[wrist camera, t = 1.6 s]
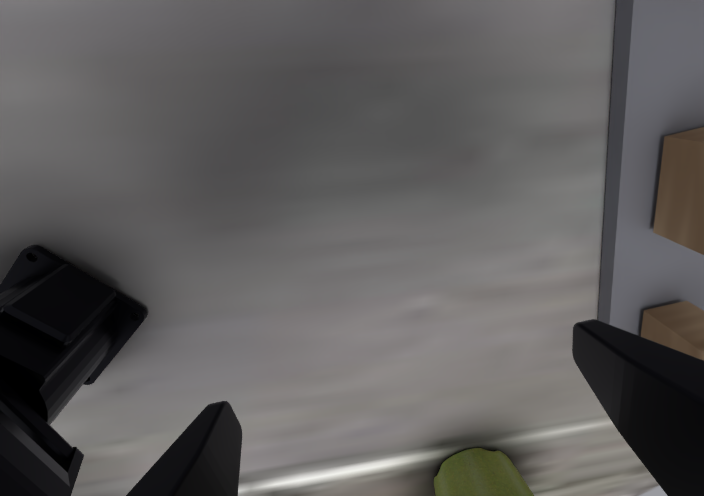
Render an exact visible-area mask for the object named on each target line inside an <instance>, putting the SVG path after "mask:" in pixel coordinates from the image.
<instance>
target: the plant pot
mask: <svg viewBox="0 0 704 496" xmlns="http://www.w3.org/2000/svg"><path fill="white" fill-rule="evenodd" d="M434 488H435V495H436V496H534V495H533V493H532V492H531V490H530V489H529V487H528V486H527V484H526V483H525V481H524V480H523V478H522V477H521V475H520V474H519V472H518V471H517V469H516V468H515V466H514V465H513V463H512V462H511V460H510V459H509V458H508V457H507V456H506V455H505V454H504V453H502V452H500V451H495V452H493V451H487V450H484V449H482V448H472V449H468V450H464V451H462V452H459V453H457V454H455V455H453V456H451V457H450V458H448V459H447V460H446V461H444V462H443V463H442V465H441V467H440V470H439V472H438V474H437V476H436V477H434Z"/></svg>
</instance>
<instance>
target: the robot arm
mask: <svg viewBox="0 0 704 496" xmlns="http://www.w3.org/2000/svg"><path fill="white" fill-rule="evenodd" d="M32 253H33V254H35V255H36V256H37V258H35V257H34V256H33V254H32ZM134 313H137V314H138V315H139V316H135V315H134ZM146 317H147V311H146V309H145V308H144V307H142V306H141V305H139V304H137V303H136V302H134V301H132V300H131V299H129V298H127V297H126V296H124V295H122V294H120V293H119V292H117V291H115V290H114V289H112V288H110V287H109V286H107V285H105V284H104V283H102V282H100V281H99V280H97V279H95V278H93V277H92V276H90V275H88V274H87V273H85V272H83V271H82V270H80V269H78V268H77V267H75V266H73V265H71V264H70V263H68V262H66V261H65V260H63V259H61V258H60V257H58V256H56V255H55V254H53V253H51V252H49V251H48V250H46V249H44V248H43V247H41V246H38V245H32V246H29V247H27V248H26V249H24V250H23V251H22V252H21V253H20V255H19V256H18V258H17V260H16V261H15V263H14V264H13V266H12V268H11V269H10V271H9V272H8V274H7V275H6V277H5V279H4V280H3V282H2V283H1V285H0V496H71V493H72V490H73V487H74V484H75V481H76V478H77V475H78V472H79V469H80V466H81V463H82V460H83V457H84V455H83V454H82V453H81V452H80V451H79V450H78V449H77V448H76V447H72V446H70V445H69V444H68V443H67V442H66V441H65V440H64V439H63V438H62V437H61V436H60V435H59V434H58V433H57V432H56V431H55V430H54V429H53V428H52V427H51V426H50V424H51V423H52V422H53V421H54V419H55V418H56V417H57V416H58V414H59V413H60V412H61V411H62V409H63V408H64V407H65V406H66V405H67V403H68V402H69V401H70V400H71V398H72V397H73V396H74V395H75V393H76V392H77V391H78V390H79V388H80V387H81V386H82V385H83V384H85V385H90V384H92V383H94V381H95V380H96V379H97V378H98V376H99V375H100V374H101V373H102V372H103V370H104V369H105V368H106V367H107V365H108V364H109V363H110V362H111V360H112V359H113V358H114V357H115V356H116V354H117V353H118V352H119V351H120V349H121V348H122V347H123V346H124V344H125V343H126V342H127V341H128V339H129V338H130V337H131V336H132V335H133V333H134V332H135V331H136V330H137V328H138V327H139V326H140V325H141V323H142V322H143V321H144V320H145V318H146ZM572 353H573V358H574V360H575V363H576V364H577V366H578V368H579V369H580V371H581V373H582V374H583V376H584V377H585V379H586V381H587V382H588V384H589V385H590V387H591V389H592V390H593V392H594V393H595V395H596V397H597V398H598V400H599V401H600V403H601V405H602V406H603V408H604V409H605V411H606V413H607V414H608V416H609V417H610V419H611V421H612V422H613V424H614V425H615V427H616V428H617V430H618V431H619V432H620V434H621V435H622V436H623V438H624V439H625V441H626V442H627V443H628V445H629V446H630V447H631V448H632V450H633V451H634V452H635V454H636V455H637V456H638V458H639V459H640V460H641V461H642V463H643V464H644V465H645V467H646V468H647V469H648V471H649V472H650V473H651V474H652V476H653V477H654V478H655V480H656V481H657V482H658V484H659V485H660V486H661V488H662V489H663V490H664V491H665V493H666V494H667V495H668V496H704V360H701V359H699V358H696V357H693V356H691V355H688V354H685V353H683V352H680V351H678V350H675V349H672V348H670V347H667V346H664V345H662V344H659V343H657V342H654V341H651V340H649V339H646V338H643V337H641V336H638V335H636V334H633V333H630V332H628V331H625V330H622V329H620V328H617V327H615V326H612V325H609V324H607V323H604V322H601V321H599V320H595V319H592V320H587V321H582V322H578V323H576V324H575V325H574V327H573V347H572ZM241 445H242V429H241V425H240V423H239V421H238V419H237V417H236V415H235V413H234V411H233V409H232V407H231V405H230V404H229V403H228V402H227V401H221V402H217V403H212V404H209V405H208V406H207V407H205V409H204V410H203V411H202V412H201V413H200V414H199V415H198V416H197V417H196V419H195V420H194V421H193V422H192V423H191V424H190V425H189V426H188V427H187V429H186V430H185V431H184V432H183V433H182V434H181V435H180V436H179V437H178V439H177V440H176V441H175V442H174V443H173V444H172V445H171V446H170V447H169V449H168V450H167V451H166V452H165V453H164V454H163V455H162V456H161V457H160V459H159V460H158V461H157V462H156V463H155V464H154V465H153V466H152V467H151V469H150V470H149V471H148V472H147V473H146V474H145V475H144V476H143V477H142V479H141V480H140V481H139V482H138V483H137V484H136V485H135V486H134V487H133V489H132V490H131V491H130V492H129V493H128V494H127V495H126V496H238V484H239V471H240V458H241Z"/></svg>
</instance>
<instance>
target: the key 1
mask: <svg viewBox="0 0 704 496" xmlns="http://www.w3.org/2000/svg"><path fill="white" fill-rule="evenodd" d="M641 337H643V338H646V339H649V340H651V341H654V342H657V343H659V344H662V345H664V346H667V347H670V348H672V349H675V350H678V351H680V352H683V353H685V354H688V355H691V356H693V357H696V358H699V359H701V360H704V311H703V310H702V309H700V308H698V307H697V306H695V305H693V304H692V303H690V302H688V301H683V302H679V303H674V304H670V305H665V306H661V307H657V308H652V309H648V310H644V313H643V321H642V329H641Z"/></svg>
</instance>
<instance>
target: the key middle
mask: <svg viewBox="0 0 704 496" xmlns="http://www.w3.org/2000/svg"><path fill="white" fill-rule="evenodd" d="M653 233H655V234H658V235H660V236H662V237H664V238H667V239H669V240H671V241H673V242H676V243H678V244H680V245H682V246H684V247H687V248H689V249H691V250H693V251H696V252H698V253H700V254H702V255H704V127H701V128H697V129H693V130H689V131H685V132H681V133H676V134H672V135H668V136H665V137H664V146H663V154H662V162H661V171H660V179H659V187H658V196H657V204H656V213H655V221H654V229H653Z"/></svg>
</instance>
